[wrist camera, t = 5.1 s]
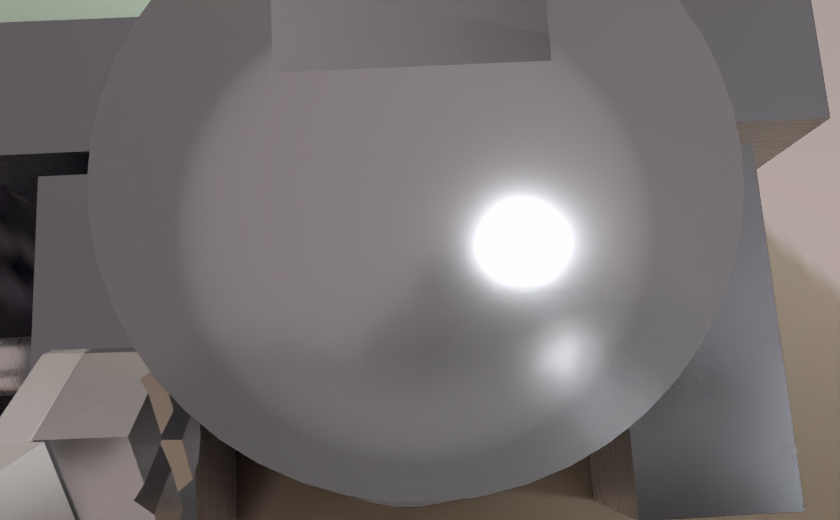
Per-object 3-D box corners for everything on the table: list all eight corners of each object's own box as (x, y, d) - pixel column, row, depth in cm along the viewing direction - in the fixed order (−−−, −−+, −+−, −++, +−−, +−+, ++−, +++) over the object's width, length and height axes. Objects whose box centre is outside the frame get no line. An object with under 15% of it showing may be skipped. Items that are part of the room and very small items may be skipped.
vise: (739, 63, 17) (809, -11, 14) (798, 488, 15) (892, 505, 12) (-81, 99, 16) (-187, 30, 13) (-113, 541, 15) (-242, 573, 12)
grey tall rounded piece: (531, 149, 16) (849, -516, 5) (560, 491, 15) (1101, 754, 3) (263, 161, 16) (-104, -494, 5) (269, 508, 15) (-225, 846, 3)
